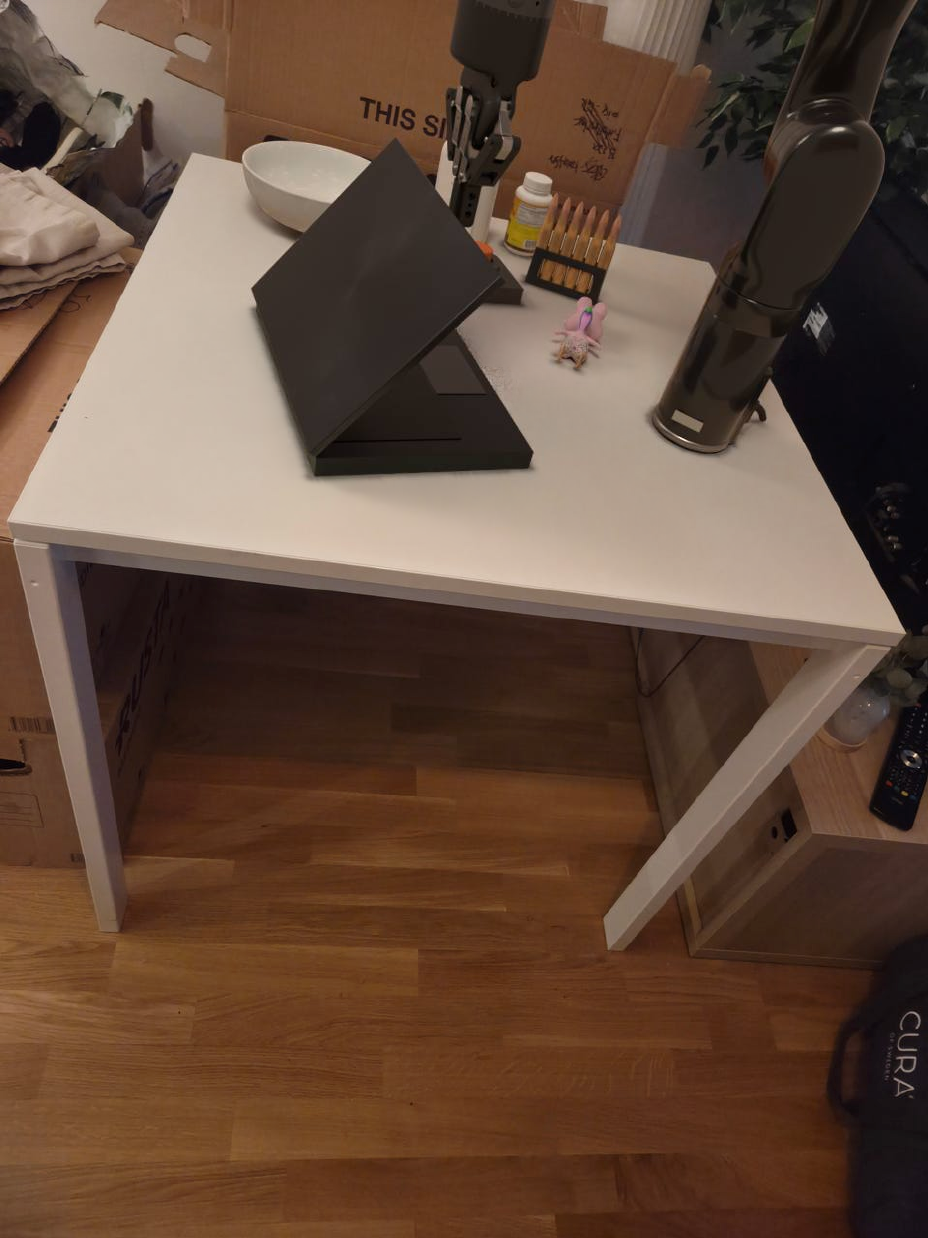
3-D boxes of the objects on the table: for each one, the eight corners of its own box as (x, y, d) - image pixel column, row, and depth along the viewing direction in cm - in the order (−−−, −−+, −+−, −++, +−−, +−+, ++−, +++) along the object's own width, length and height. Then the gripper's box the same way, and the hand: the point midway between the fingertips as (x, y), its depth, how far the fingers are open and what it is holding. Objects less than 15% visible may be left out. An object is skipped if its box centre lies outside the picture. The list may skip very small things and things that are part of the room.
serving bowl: (390, 271, 103) (399, 218, 98) (227, 237, 100) (228, 179, 95) (397, 212, 118) (405, 162, 113) (255, 180, 114) (256, 127, 109)
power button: (484, 254, 105) (487, 241, 104) (494, 267, 103) (497, 253, 102) (459, 252, 104) (462, 239, 102) (469, 265, 101) (472, 251, 100)
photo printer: (424, 218, 118) (441, 127, 110) (446, 216, 121) (464, 127, 112) (467, 249, 114) (487, 157, 105) (489, 247, 116) (510, 156, 108)
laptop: (436, 318, 97) (439, 301, 96) (528, 468, 80) (534, 451, 78) (256, 310, 89) (256, 292, 87) (314, 476, 71) (316, 457, 70)
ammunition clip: (524, 282, 111) (549, 192, 102) (526, 277, 112) (551, 188, 103) (595, 306, 110) (627, 218, 102) (597, 301, 112) (628, 214, 103)
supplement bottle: (511, 237, 121) (530, 166, 114) (543, 251, 120) (564, 180, 113) (496, 247, 117) (514, 173, 110) (529, 261, 116) (549, 188, 109)
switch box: (495, 273, 111) (502, 244, 108) (519, 304, 105) (527, 275, 102) (422, 268, 106) (427, 238, 103) (443, 301, 101) (449, 270, 98)
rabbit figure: (587, 384, 97) (613, 320, 106) (602, 343, 92) (628, 280, 101) (540, 367, 98) (569, 304, 106) (553, 325, 93) (582, 263, 101)
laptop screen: (400, 143, 81) (395, 136, 80) (507, 283, 63) (501, 275, 63) (256, 293, 88) (250, 288, 87) (316, 458, 70) (309, 453, 69)
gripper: (583, 30, 59) (520, 259, 71) (518, -15, 67) (472, 198, 79) (494, 11, 56) (444, 252, 69) (437, -34, 64) (401, 190, 76)
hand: (459, 223), depth 74 cm, fingers closed
